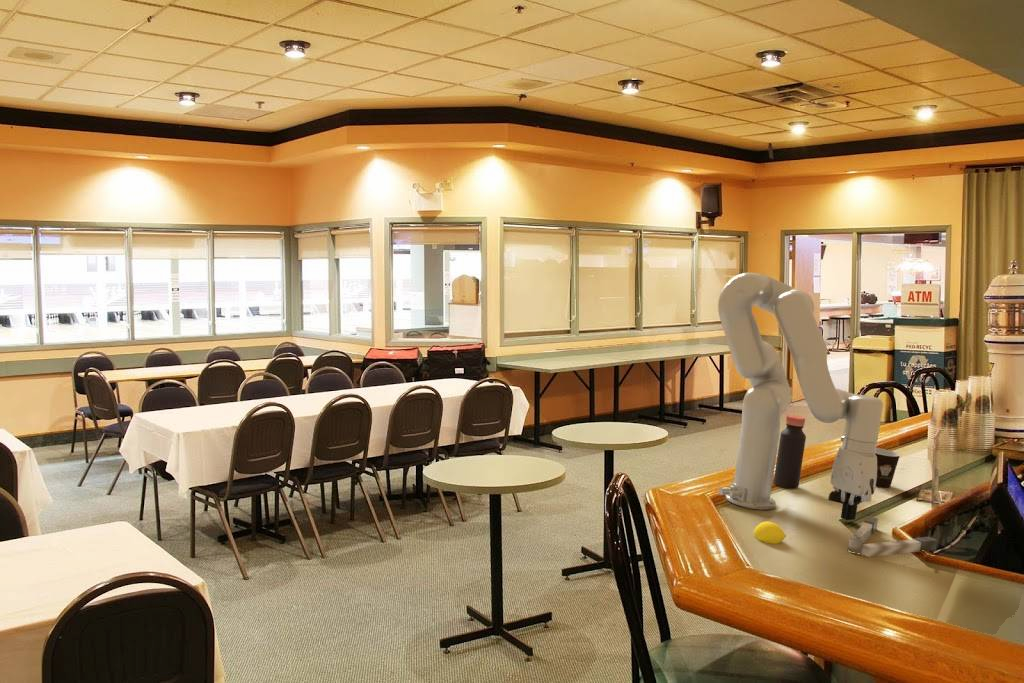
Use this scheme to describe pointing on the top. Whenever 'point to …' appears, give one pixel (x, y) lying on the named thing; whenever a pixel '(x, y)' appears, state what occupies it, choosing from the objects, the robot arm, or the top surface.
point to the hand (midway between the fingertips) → (847, 518)
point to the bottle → (790, 453)
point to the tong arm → (866, 529)
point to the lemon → (769, 533)
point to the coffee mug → (885, 467)
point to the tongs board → (892, 546)
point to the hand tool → (835, 497)
